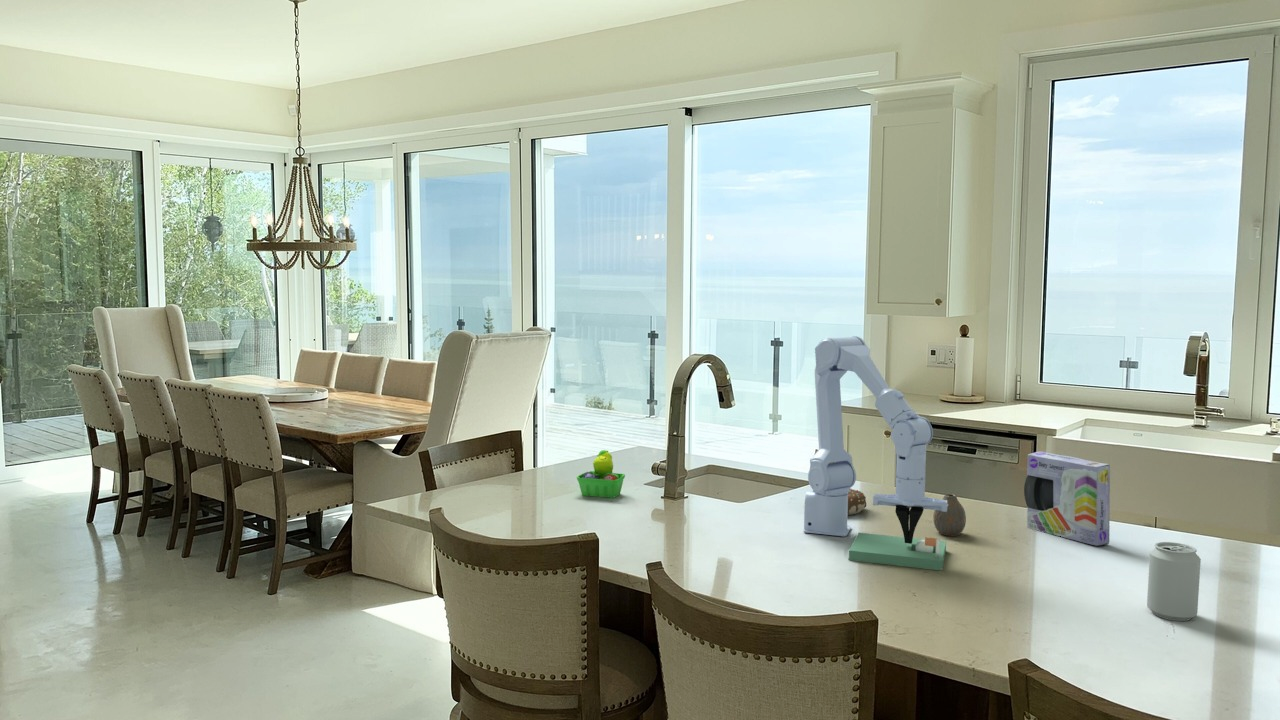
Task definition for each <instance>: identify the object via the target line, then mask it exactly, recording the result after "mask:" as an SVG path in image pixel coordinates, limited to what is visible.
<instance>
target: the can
mask: <svg viewBox="0 0 1280 720" xmlns="http://www.w3.org/2000/svg"><path fill="white" fill-rule="evenodd" d="M1197 551H1198V550H1197V548H1195V547H1193V546H1191V545H1189V544H1185V543H1180V542H1174V541H1173V542H1171V541H1159V542H1156V543H1154V548H1153V549H1152V550H1150V552H1149V563H1148V564H1149V565H1148V577H1147V578H1148V580H1147V581H1148V582H1147V583H1148V584H1147V599H1146V607H1147V608H1148V609H1149V610H1150V611H1151V612H1152V614H1153V615H1155V616H1157V617H1159V618H1162V619H1166V620H1171V621H1178V622H1179V621H1181V622H1183V621H1184V622H1185V621H1190V620H1191V619H1193V618H1194V617H1196V616H1197V615H1198V612H1199V611H1198V609H1199V607H1198V606H1199V595H1200V594H1199V593H1200V592H1199V591H1200V580H1201V579H1200V577H1201V563H1202V562H1201V560H1202V559H1201V557H1199V555H1198V554H1197Z"/></svg>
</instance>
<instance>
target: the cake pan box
mask: <svg viewBox="0 0 1280 720" xmlns="http://www.w3.org/2000/svg"><path fill="white" fill-rule="evenodd" d="M1026 464H1027V468H1026V469H1027V471H1026V474H1027V475H1026V478H1025V481H1024V485H1023V486H1024V487H1023V496H1024V500H1025V504H1026V507H1027V509H1026V510H1027V511H1026V513H1027V516H1026V517H1027V518H1026V519H1027V521H1026V527H1027V528H1029V529H1031V528H1032V529H1031V530H1034V529H1036V530H1035V531H1038V530H1040V531H1039V532H1042V531H1043V532H1042V533H1045V532H1047V533H1046V534H1049V533H1050V534H1049V535H1053V534H1054V535H1053V536H1057V537H1060V536H1061V538H1065V539H1068V540H1071V541H1076V542H1079V543H1084V544H1088V545H1092V546H1096V547H1098V546H1105V545H1109V544H1110V529H1111V528H1110V527H1111V526H1110V517H1111V516H1110V514H1111V513H1110V508H1111V507H1110V504H1111V501H1110V500H1111V499H1110V497H1111V495H1110V491H1111V489H1110V487H1111V485H1110V483H1111V480H1110V479H1111V478H1110V477H1111V476H1110V475H1111V465H1110V464H1109V463H1102V462H1097V461H1094V460H1087V459H1083V458H1080V457H1076V456H1075V457H1074V456H1070V455H1069V456H1068V455H1061V454H1057V453H1050V452H1046V451H1035V452H1032V453H1028V454H1027V463H1026Z"/></svg>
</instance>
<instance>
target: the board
mask: <svg viewBox="0 0 1280 720" xmlns="http://www.w3.org/2000/svg"><path fill="white" fill-rule="evenodd" d="M920 540H925V538H917V537H916V538H915V537H913V541H912V544H909V543H905V540H904V536H897V535H885V534H878V533H877V534H876V533H869V532H868V533H867V532H858V533H857V535H856V537H855V539H854V540H853V542H852V544H851V546H850V547H849V550H848V561H855V562H864V563H873V564H881V565H889V566H899V567H907V568H908V567H909V568H915V569H916V568H917V569H925V570H934V571H943V566H944V562H945V561H944V560H945V557H946V551H947V541H946V540H945V541H944V540H940V546H939V559H935V554H936V547H935V546H933V553H928V552H919V551H916V544H917V542H918V541H920Z"/></svg>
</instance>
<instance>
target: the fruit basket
mask: <svg viewBox="0 0 1280 720" xmlns="http://www.w3.org/2000/svg"><path fill="white" fill-rule="evenodd" d="M596 456H597V457H595V459H593V462H592V465H593V470H590V471H585V472H583V473H581V474H579V475H577V476H576V480H577V482H578V486H579V489H580V492H581V496H582V495H583V496H584V497H597V498H598V497H599V498H610V499H615V498H616V497H618V496H619V495H620V494H621V492H622V487H623V485H624V479H625V477H626V474H625V473H617V472H615V473H614V472H613V469H614V461H613V456H612V454H611V453H610V452H609V450H605V449H603V450H599V453H598V454H597V455H596Z"/></svg>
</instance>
